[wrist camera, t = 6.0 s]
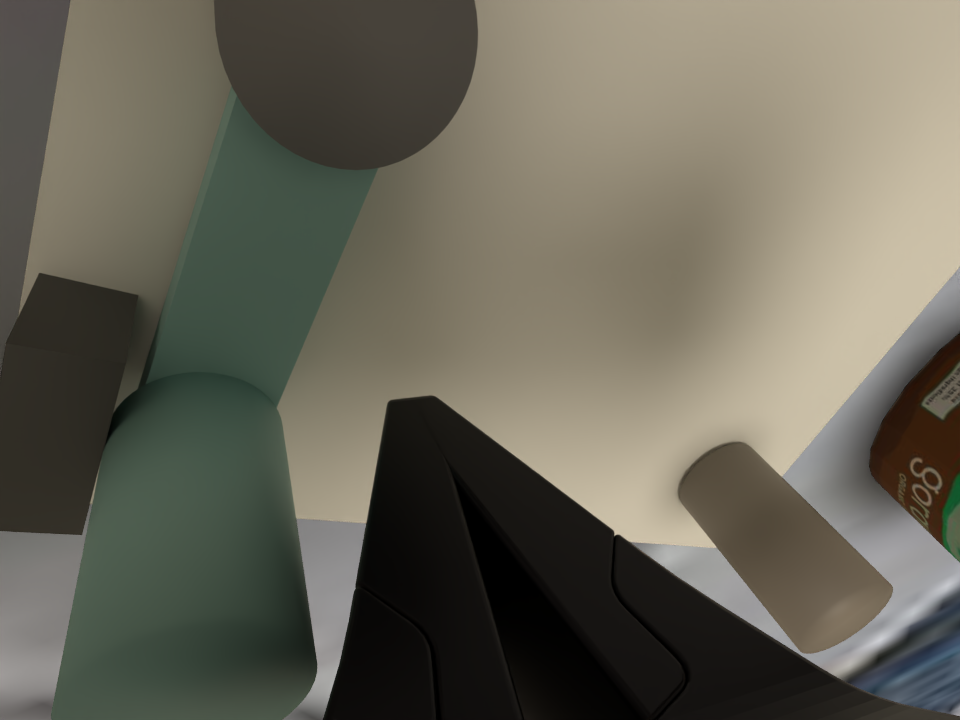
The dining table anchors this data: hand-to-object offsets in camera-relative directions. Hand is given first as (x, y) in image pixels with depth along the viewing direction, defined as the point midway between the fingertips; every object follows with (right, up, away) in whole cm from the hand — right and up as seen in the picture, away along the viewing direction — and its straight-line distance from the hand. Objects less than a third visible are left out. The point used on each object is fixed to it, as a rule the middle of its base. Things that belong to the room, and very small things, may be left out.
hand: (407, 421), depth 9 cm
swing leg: (-2, +3, 0) cm, 3 cm away
